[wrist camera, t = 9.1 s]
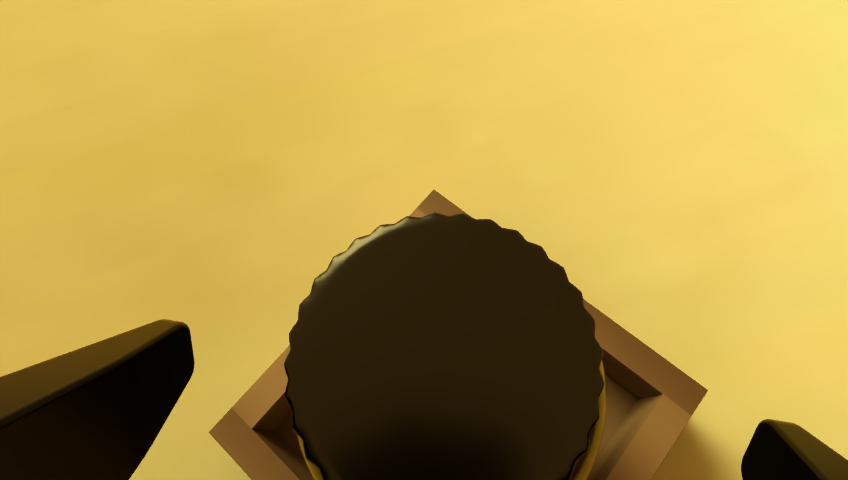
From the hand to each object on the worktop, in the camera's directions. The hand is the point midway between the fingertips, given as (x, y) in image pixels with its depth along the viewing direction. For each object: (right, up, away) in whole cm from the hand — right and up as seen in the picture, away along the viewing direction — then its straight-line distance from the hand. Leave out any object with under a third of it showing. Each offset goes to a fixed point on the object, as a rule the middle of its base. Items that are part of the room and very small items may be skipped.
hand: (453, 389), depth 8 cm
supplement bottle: (+1, -4, +11) cm, 11 cm away
